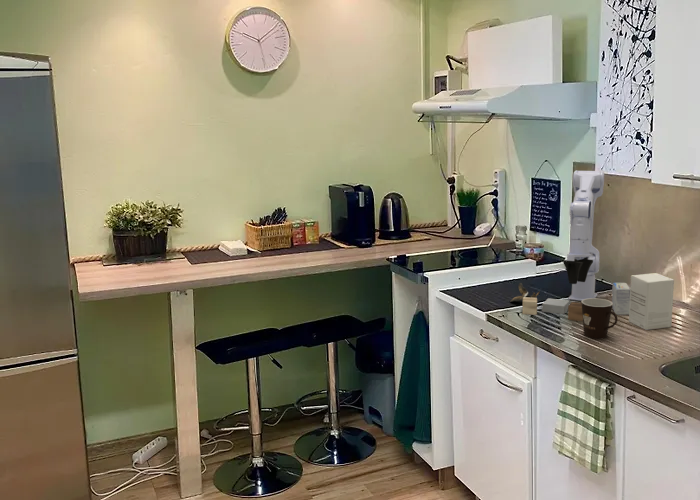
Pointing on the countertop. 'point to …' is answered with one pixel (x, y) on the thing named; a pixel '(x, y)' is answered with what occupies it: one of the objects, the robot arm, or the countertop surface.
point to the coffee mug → (597, 317)
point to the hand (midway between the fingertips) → (577, 282)
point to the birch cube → (529, 306)
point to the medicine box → (621, 298)
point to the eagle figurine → (523, 293)
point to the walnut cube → (575, 311)
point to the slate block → (555, 306)
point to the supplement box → (651, 301)
